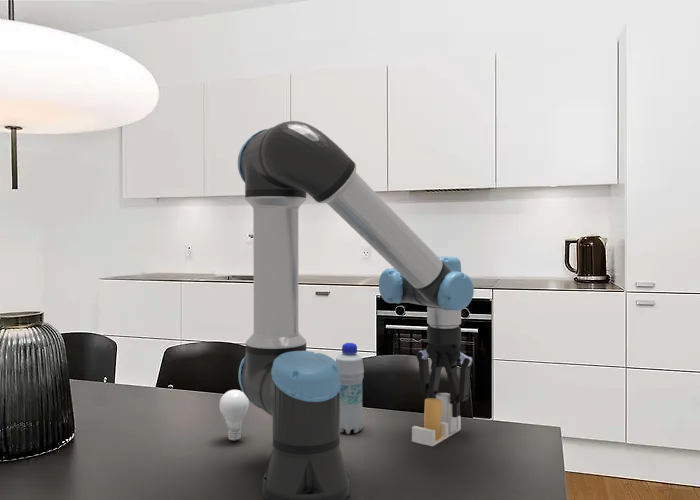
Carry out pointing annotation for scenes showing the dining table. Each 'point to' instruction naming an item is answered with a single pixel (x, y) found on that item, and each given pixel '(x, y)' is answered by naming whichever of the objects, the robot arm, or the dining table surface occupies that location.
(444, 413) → the grey plug
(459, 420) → the rack
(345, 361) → the bottle
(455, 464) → the dining table surface
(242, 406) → the lightbulb
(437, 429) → the orange plug
